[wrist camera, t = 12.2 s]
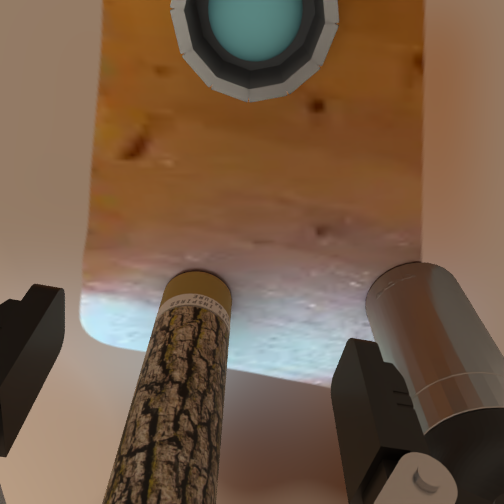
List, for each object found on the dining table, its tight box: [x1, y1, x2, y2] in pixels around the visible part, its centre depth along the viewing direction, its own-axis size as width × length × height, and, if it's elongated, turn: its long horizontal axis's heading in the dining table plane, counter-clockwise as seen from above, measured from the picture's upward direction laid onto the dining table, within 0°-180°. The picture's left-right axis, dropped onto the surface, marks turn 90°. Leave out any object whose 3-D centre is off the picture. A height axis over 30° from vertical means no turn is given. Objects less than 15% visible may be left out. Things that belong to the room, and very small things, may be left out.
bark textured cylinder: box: [102, 271, 232, 504], centre depth 37 cm, size 7×7×25 cm
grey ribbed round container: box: [170, 0, 339, 102], centre depth 31 cm, size 11×11×7 cm
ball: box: [208, 0, 303, 62], centre depth 30 cm, size 6×6×6 cm
